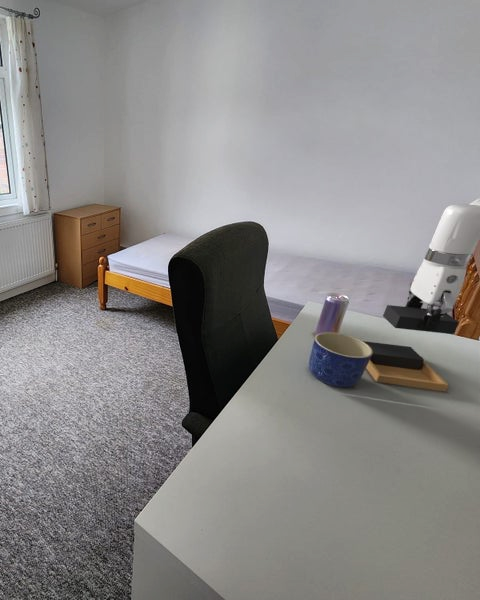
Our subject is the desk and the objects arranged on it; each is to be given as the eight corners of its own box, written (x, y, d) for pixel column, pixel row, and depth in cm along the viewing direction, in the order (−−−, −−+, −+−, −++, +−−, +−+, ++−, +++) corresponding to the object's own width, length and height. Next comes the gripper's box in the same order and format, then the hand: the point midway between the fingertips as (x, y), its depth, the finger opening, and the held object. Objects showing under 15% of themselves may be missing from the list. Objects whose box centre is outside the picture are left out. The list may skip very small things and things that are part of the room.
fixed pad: (406, 356, 101) (410, 346, 99) (419, 370, 95) (424, 360, 93) (358, 350, 104) (362, 340, 103) (368, 363, 98) (372, 353, 97)
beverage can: (318, 341, 110) (331, 300, 104) (311, 332, 115) (323, 292, 109) (338, 343, 109) (353, 301, 102) (331, 334, 114) (344, 293, 108)
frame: (409, 356, 101) (412, 349, 100) (444, 393, 87) (449, 385, 86) (351, 349, 106) (353, 342, 104) (375, 382, 91) (379, 375, 90)
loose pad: (436, 321, 91) (441, 309, 90) (453, 334, 85) (459, 322, 84) (382, 316, 95) (387, 304, 93) (395, 328, 88) (400, 316, 87)
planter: (354, 371, 96) (367, 338, 91) (363, 398, 86) (378, 362, 81) (303, 360, 101) (312, 328, 96) (306, 384, 91) (317, 350, 87)
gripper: (493, 270, 73) (457, 340, 81) (443, 248, 88) (416, 309, 96) (449, 268, 75) (418, 336, 83) (408, 246, 90) (384, 306, 98)
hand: (417, 321), depth 89 cm, fingers closed on loose pad, 7 cm apart
